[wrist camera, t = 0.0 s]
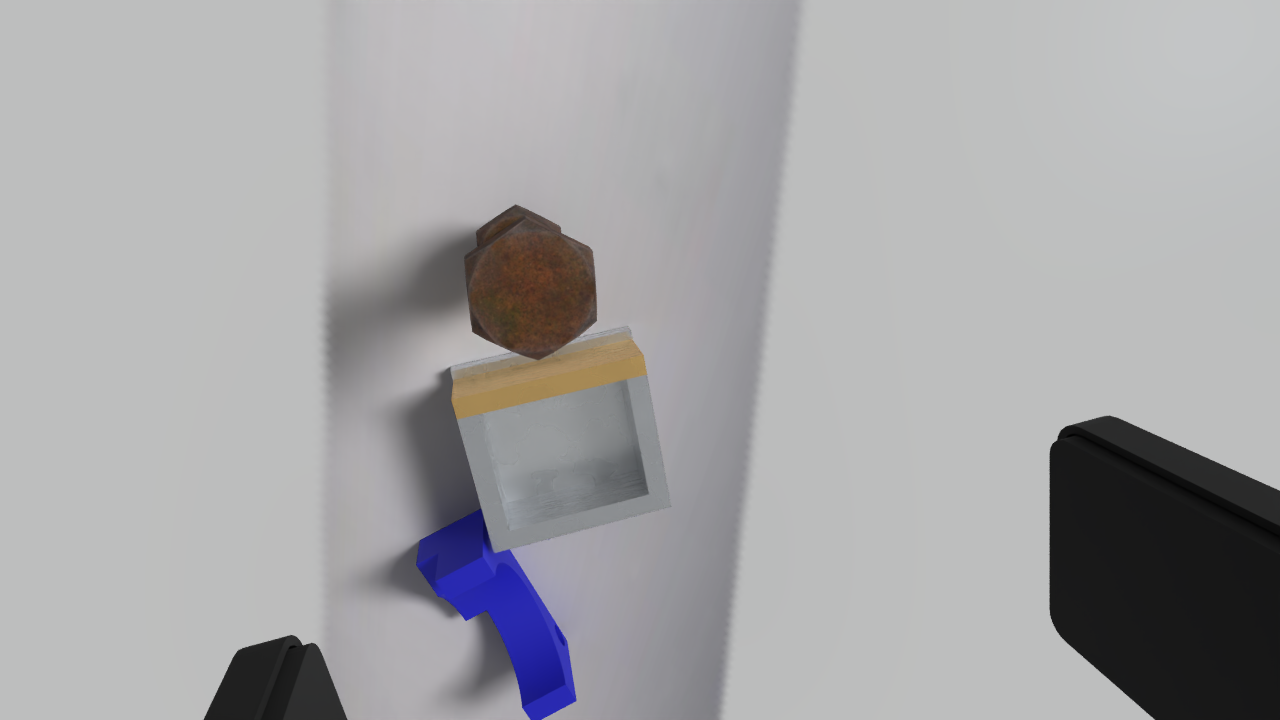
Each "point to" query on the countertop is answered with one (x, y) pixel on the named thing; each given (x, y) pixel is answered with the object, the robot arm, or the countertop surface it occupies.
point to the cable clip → (501, 609)
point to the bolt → (529, 284)
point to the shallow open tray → (560, 438)
